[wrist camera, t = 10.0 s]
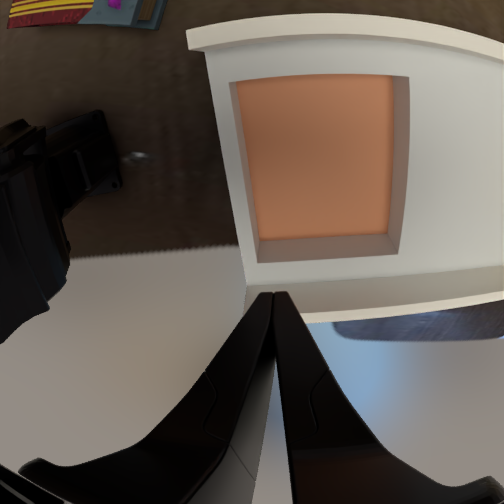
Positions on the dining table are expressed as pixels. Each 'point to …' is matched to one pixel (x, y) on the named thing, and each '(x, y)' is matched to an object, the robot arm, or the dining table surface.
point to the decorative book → (87, 13)
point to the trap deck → (361, 160)
